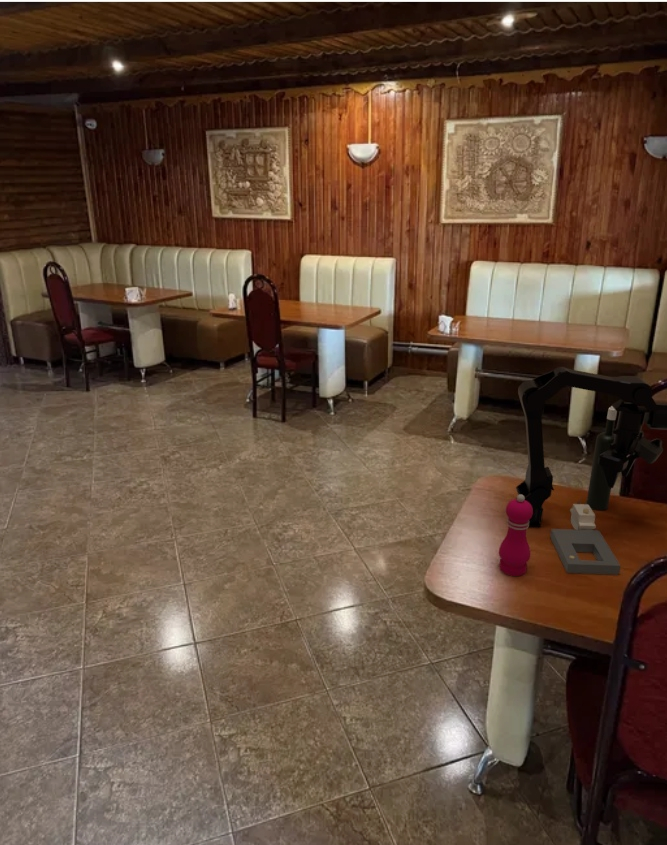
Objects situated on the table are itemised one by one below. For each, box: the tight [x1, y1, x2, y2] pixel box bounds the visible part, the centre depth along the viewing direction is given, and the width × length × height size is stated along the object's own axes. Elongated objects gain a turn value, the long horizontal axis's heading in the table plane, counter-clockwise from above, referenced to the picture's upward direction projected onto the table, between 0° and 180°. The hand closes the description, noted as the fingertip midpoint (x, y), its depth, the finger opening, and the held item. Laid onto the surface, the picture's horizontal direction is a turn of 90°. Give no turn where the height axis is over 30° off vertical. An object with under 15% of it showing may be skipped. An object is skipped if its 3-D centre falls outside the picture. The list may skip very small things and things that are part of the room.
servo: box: [569, 501, 597, 530], centre depth 168 cm, size 4×9×6 cm, turn 176°
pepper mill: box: [498, 494, 533, 577], centre depth 148 cm, size 7×7×20 cm
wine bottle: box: [585, 405, 618, 511], centre depth 175 cm, size 6×6×30 cm
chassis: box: [550, 528, 621, 576], centre depth 156 cm, size 12×16×3 cm
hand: (617, 481), depth 165 cm, fingers open, 9 cm apart
